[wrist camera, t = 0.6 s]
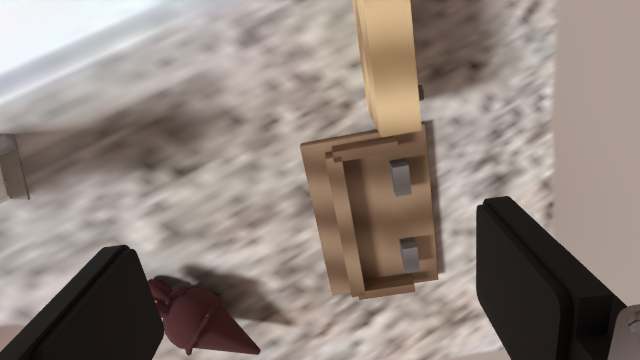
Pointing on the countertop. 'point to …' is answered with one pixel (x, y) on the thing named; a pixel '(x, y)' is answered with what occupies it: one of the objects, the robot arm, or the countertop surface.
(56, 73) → the countertop surface
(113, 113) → the countertop surface
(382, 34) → the door panel
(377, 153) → the cabinet base
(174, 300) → the icecream
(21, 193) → the cheese grater
